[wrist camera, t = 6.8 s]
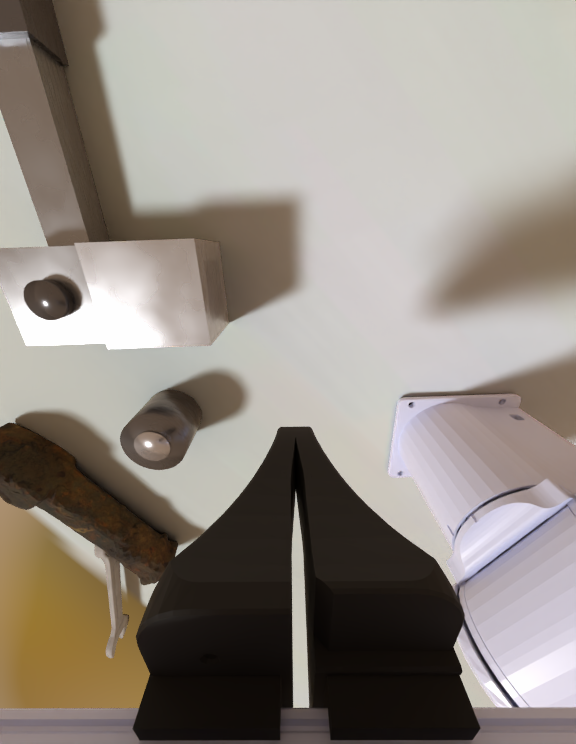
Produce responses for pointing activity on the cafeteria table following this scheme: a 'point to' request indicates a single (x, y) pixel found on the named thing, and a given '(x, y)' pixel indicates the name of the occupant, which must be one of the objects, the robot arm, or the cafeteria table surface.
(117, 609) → the combination wrench
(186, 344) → the grey block
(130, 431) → the socket
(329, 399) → the cafeteria table surface
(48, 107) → the ratchet
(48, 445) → the rough brown wooden log
